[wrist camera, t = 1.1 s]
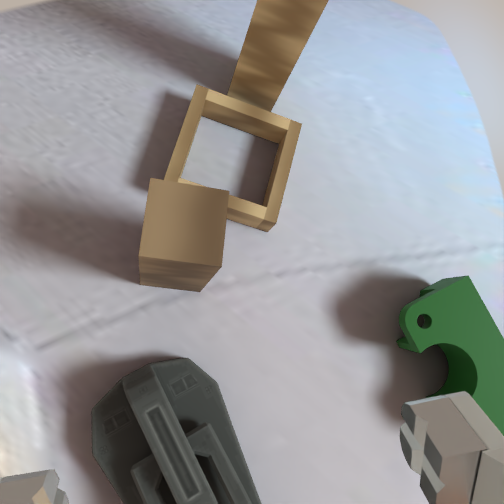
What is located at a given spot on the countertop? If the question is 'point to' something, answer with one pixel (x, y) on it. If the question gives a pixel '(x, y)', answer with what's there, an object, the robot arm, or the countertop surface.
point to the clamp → (460, 341)
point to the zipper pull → (170, 439)
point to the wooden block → (182, 235)
